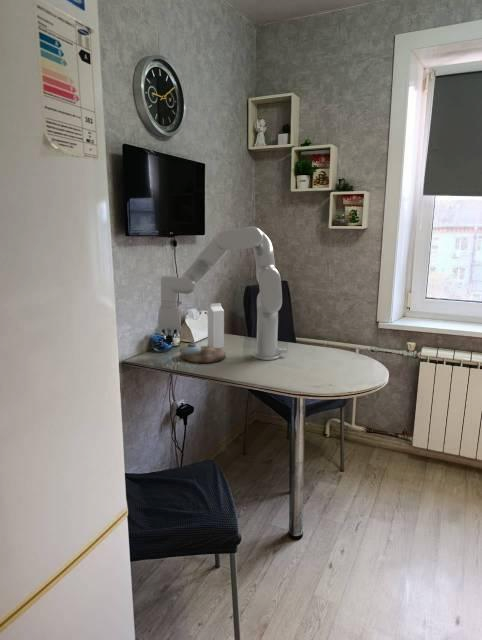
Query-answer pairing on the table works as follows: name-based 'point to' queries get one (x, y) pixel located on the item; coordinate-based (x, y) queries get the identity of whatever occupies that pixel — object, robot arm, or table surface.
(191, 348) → the cover
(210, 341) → the milk
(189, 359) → the turntable
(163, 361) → the table surface
